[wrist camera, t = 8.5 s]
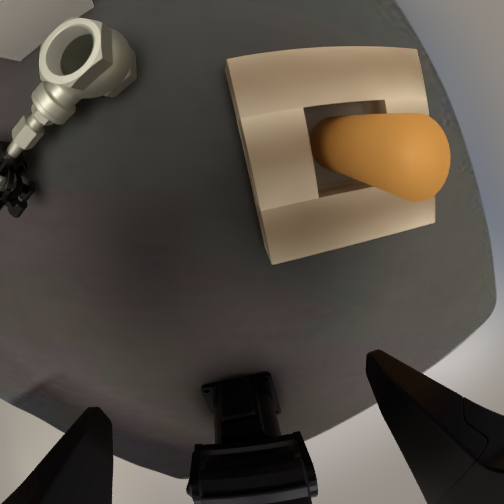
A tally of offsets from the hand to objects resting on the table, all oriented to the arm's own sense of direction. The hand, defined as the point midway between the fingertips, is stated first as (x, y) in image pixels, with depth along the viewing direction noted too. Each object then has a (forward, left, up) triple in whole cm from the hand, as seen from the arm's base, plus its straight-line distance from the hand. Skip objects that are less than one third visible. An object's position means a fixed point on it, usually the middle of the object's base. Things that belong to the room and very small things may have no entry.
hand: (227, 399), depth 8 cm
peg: (+5, -9, -13) cm, 16 cm away
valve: (+12, +8, -13) cm, 19 cm away
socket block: (+5, -9, -13) cm, 17 cm away
